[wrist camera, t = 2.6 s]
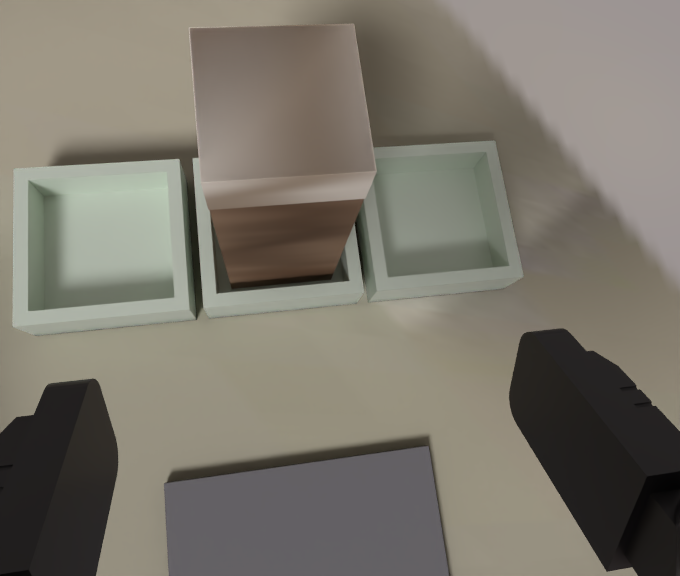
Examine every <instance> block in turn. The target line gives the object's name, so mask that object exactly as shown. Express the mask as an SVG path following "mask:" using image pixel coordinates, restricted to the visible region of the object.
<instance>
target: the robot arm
mask: <svg viewBox="0 0 680 576" xmlns="http://www.w3.org/2000/svg"><path fill="white" fill-rule="evenodd" d="M509 401H510V408H511V412H512V415H513V418H514V420H515V422H516V424H517V425H518V427H519V429H520V430H521V432H522V434H523V435H524V437H525V439H526V440H527V442H528V443H529V445H530V447H531V448H532V450H533V452H534V453H535V455H536V457H537V458H538V460H539V461H540V463H541V465H542V466H543V468H544V470H545V471H546V473H547V475H548V476H549V478H550V479H551V481H552V483H553V484H554V486H555V488H556V489H557V491H558V493H559V494H560V496H561V497H562V499H563V501H564V502H565V504H566V506H567V507H568V509H569V511H570V512H571V514H572V515H573V517H574V519H575V520H576V522H577V524H578V525H579V527H580V529H581V530H582V532H583V533H584V535H585V537H586V538H587V540H588V542H589V543H590V545H591V547H592V548H593V550H594V551H595V553H596V555H597V556H598V558H599V560H600V561H601V563H602V565H603V566H604V568H605V569H606V571H613V570H618V569H624V568H630V567H633V569H634V570H635V572H636V573H637V575H638V576H680V431H679V430H678V429H677V428H676V427H675V426H674V425H673V424H672V423H671V422H670V421H669V420H668V419H667V417H666V416H665V415H664V414H663V413H662V412H661V411H660V410H659V409H658V408H657V407H656V406H652V404H651V400H650V399H649V398H648V397H647V396H646V395H645V394H644V393H643V392H642V391H641V390H637V388H636V385H635V383H634V382H633V381H632V380H631V379H630V378H629V377H628V376H627V375H626V374H625V373H624V372H623V371H622V370H621V369H620V368H619V366H617V365H615V364H614V363H612V362H610V361H609V360H607V359H606V358H604V357H602V356H601V355H599V354H597V353H596V352H594V351H586V350H585V349H584V348H583V347H582V346H581V345H580V344H579V342H578V341H577V340H576V339H575V338H574V337H573V336H572V335H571V334H570V333H569V332H568V331H567V330H566V329H551V330H542V331H533V332H526V333H524V334H523V335H522V337H521V339H520V343H519V348H518V352H517V357H516V362H515V367H514V372H513V377H512V381H511V386H510V392H509ZM117 471H118V448H117V442H116V438H115V434H114V431H113V428H112V424H111V421H110V418H109V414H108V411H107V408H106V404H105V401H104V398H103V395H102V391H101V388H100V385H99V383H98V381H97V380H96V379H86V380H77V381H68V382H59V383H51V384H48V385H47V386H46V388H45V390H44V392H43V394H42V396H41V399H40V401H39V404H38V406H37V408H36V411H35V413H34V415H31V416H22V417H16V418H15V419H14V420H13V421H12V422H11V423H10V424H9V425H8V426H7V427H6V428H5V429H4V430H3V431H2V432H1V433H0V576H96V572H97V567H98V562H99V558H100V553H101V548H102V543H103V539H104V534H105V529H106V524H107V520H108V515H109V510H110V505H111V501H112V496H113V491H114V487H115V482H116V477H117Z"/></svg>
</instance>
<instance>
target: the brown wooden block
mask: <svg viewBox="0 0 680 576" xmlns="http://www.w3.org/2000/svg"><path fill="white" fill-rule="evenodd" d="M189 35H190V48H191V61H192V74H193V88H194V101H195V114H196V127H197V141H198V154H199V167H200V180H201V186H202V189H203V193H204V196H205V200H206V203H207V207H208V210H210V214H211V217H212V221H213V224H214V228H215V232H216V235H217V239H218V242H219V246H220V249H221V253H222V256H223V260H224V263H225V267H226V270H227V274H228V277H229V281H230V285H231V288H232V289H237V288H247V287H258V286H269V285H279V284H290V283H301V282H311V281H322V280H331V278H332V276H333V273H334V271H335V269H336V266H337V264H338V261H339V259H340V257H341V254H342V252H343V249H344V247H345V244H346V242H347V240H348V237H349V235H350V232H351V230H352V227H353V225H354V223H355V220H356V218H357V215H358V213H359V211H360V208H361V206H362V203H363V201H364V199H366V196H367V194H368V192H369V189H370V187H371V184H372V182H373V180H374V177H375V175H376V172H377V170H376V163H375V157H374V150H373V144H372V137H371V131H370V124H369V118H368V111H367V105H366V98H365V92H364V85H363V79H362V72H361V66H360V59H359V53H358V46H357V40H356V33H355V27H354V24H321V25H280V26H239V27H199V28H189Z"/></svg>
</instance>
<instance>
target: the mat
mask: <svg viewBox="0 0 680 576" xmlns="http://www.w3.org/2000/svg"><path fill="white" fill-rule="evenodd" d="M164 491H165V511H166V530H167V549H168V568H169V576H449V572H448V565H447V559H446V553H445V546H444V540H443V534H442V527H441V521H440V515H439V508H438V502H437V496H436V489H435V483H434V477H433V470H432V464H431V458H430V451H429V446H420V447H413V448H406V449H399V450H392V451H385V452H378V453H371V454H364V455H357V456H350V457H343V458H336V459H329V460H322V461H315V462H308V463H301V464H294V465H287V466H280V467H273V468H266V469H258V470H251V471H244V472H237V473H230V474H223V475H216V476H209V477H202V478H195V479H188V480H181V481H174V482H167V483H164Z"/></svg>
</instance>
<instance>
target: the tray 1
mask: <svg viewBox="0 0 680 576" xmlns="http://www.w3.org/2000/svg"><path fill="white" fill-rule="evenodd" d="M189 320H197V319H196V305H195V291H194V276H193V262H192V247H191V233H190V219H189V204H188V190H187V180H186V177H185V174H184V171H183V168H182V165H181V162H180V159H169V160H152V161H135V162H118V163H101V164H84V165H67V166H50V167H33V168H16V169H14V206H13V327H14V328H17V329H19V330H22V331H25V332H27V333H30V334H32V335H35V336H40V335H50V334H60V333H70V332H80V331H90V330H100V329H110V328H120V327H130V326H139V325H149V324H159V323H169V322H179V321H189Z"/></svg>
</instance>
